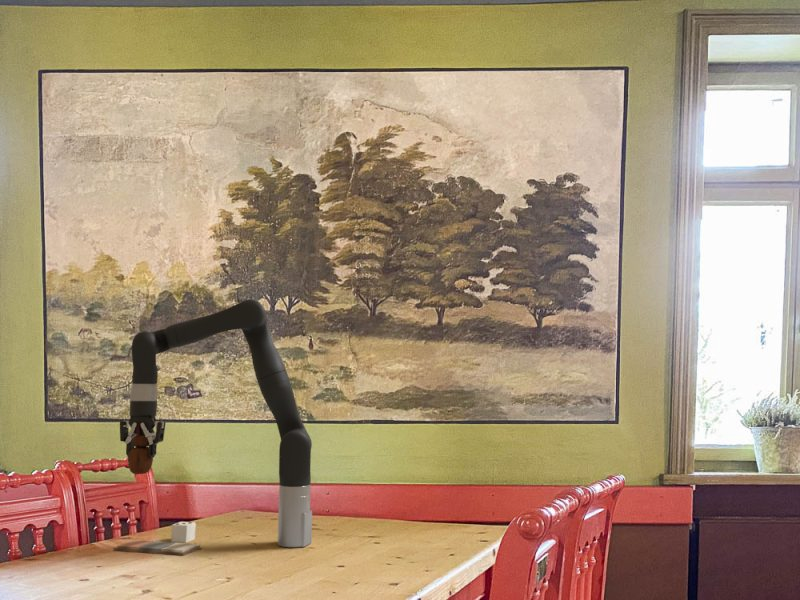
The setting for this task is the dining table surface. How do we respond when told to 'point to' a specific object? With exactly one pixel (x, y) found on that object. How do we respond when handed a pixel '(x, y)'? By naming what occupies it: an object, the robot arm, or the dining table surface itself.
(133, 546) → the game strip
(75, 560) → the dining table surface
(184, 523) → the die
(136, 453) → the wooden figurine
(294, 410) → the robot arm
